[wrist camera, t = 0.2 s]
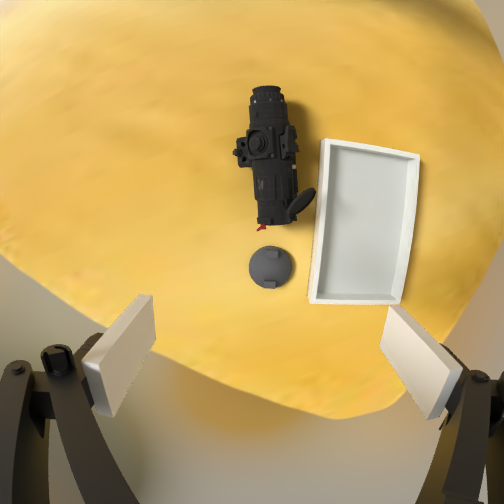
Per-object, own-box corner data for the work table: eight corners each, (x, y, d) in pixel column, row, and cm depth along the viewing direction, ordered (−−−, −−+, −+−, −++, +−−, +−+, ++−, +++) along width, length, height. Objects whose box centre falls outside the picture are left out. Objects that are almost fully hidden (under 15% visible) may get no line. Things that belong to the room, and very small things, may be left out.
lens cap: (250, 244, 42) (250, 247, 40) (292, 246, 42) (294, 250, 40) (248, 284, 44) (247, 289, 42) (288, 286, 44) (290, 291, 42)
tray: (320, 140, 38) (325, 138, 35) (410, 155, 38) (419, 154, 35) (306, 295, 44) (310, 303, 41) (392, 296, 44) (399, 304, 41)
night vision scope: (260, 101, 39) (322, 88, 33) (269, 220, 44) (331, 224, 37) (221, 93, 33) (288, 74, 27) (232, 230, 38) (299, 237, 32)
